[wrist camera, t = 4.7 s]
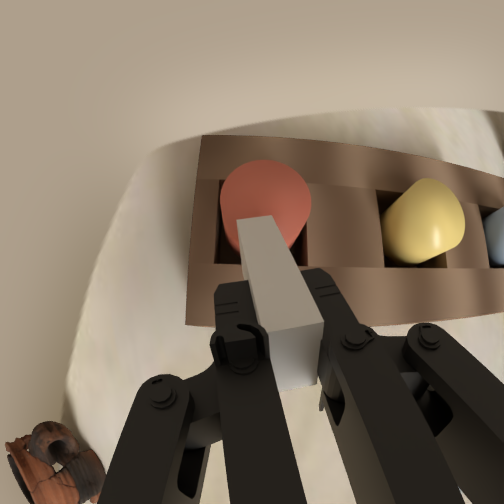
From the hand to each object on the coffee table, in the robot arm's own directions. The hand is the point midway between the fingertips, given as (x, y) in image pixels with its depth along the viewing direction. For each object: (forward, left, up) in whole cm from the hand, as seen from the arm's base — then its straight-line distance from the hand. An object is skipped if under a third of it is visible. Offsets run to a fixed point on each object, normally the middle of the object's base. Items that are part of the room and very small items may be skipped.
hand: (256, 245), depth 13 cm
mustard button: (-10, -3, -5) cm, 12 cm away
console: (-10, -3, -11) cm, 16 cm away
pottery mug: (+17, +18, -12) cm, 28 cm away
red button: (0, -3, -5) cm, 6 cm away
